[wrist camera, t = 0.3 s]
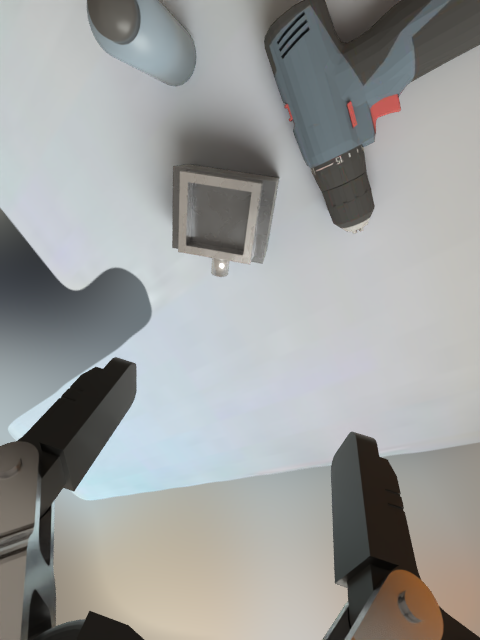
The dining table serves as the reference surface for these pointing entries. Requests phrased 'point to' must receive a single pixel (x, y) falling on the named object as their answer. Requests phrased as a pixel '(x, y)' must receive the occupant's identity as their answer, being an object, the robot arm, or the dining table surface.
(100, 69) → the dining table surface
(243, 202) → the grey metal open box
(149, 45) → the capped canister
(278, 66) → the power drill
